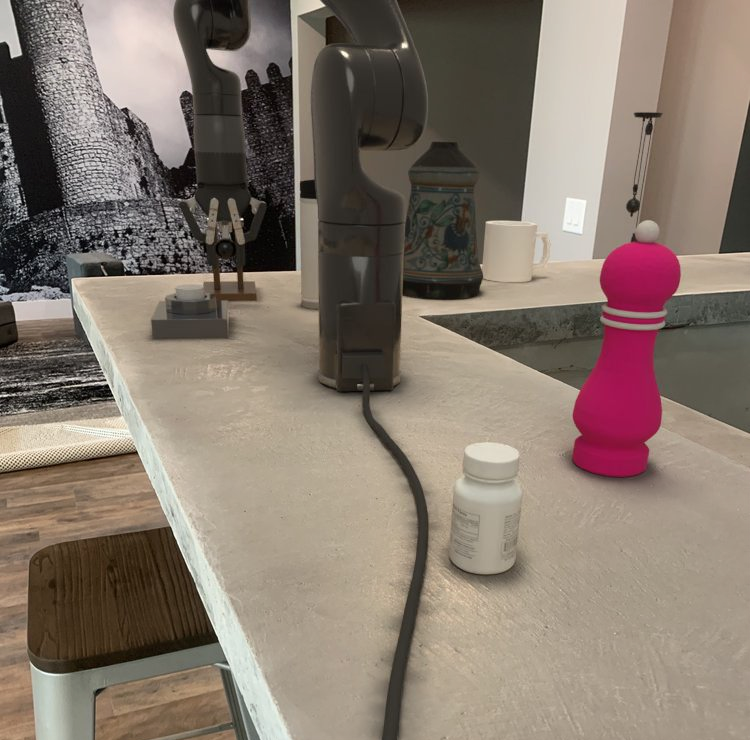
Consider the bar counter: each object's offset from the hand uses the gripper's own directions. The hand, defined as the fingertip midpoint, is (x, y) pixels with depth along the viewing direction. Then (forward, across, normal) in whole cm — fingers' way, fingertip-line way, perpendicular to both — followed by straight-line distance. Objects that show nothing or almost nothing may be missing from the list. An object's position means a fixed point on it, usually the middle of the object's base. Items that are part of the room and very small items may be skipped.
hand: (227, 268), depth 122 cm
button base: (+6, -5, -16) cm, 17 cm away
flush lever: (-3, 0, +6) cm, 6 cm away
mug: (+6, +57, +26) cm, 63 cm away
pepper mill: (+6, +33, -70) cm, 78 cm away
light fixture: (+6, +87, +35) cm, 94 cm away
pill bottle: (+6, +17, -86) cm, 87 cm away
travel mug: (+6, +15, 0) cm, 16 cm away
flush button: (+2, -5, -16) cm, 16 cm away
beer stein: (+6, +37, +14) cm, 40 cm away
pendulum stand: (+6, 0, +10) cm, 12 cm away
